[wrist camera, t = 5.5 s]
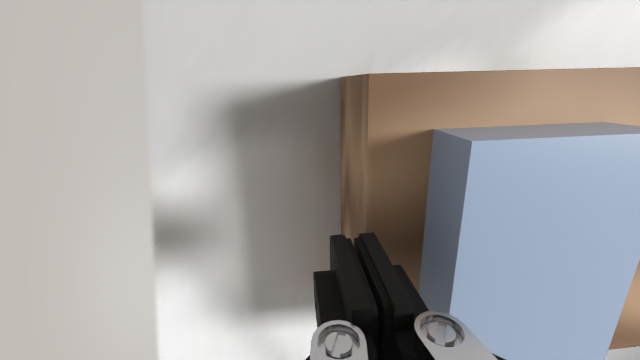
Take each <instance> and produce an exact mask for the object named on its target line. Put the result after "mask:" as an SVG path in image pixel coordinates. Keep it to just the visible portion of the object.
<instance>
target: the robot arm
mask: <svg viewBox="0 0 640 360" xmlns="http://www.w3.org/2000/svg"><path fill="white" fill-rule="evenodd" d="M330 267H331V270H330V271H318V272H314V297H315V309H316V319H317V327H318V328H317V329H316V331H315V332H314V333H313V337H312V341H311V351H310V355H309V357H308V358H307V359H306V360H506V359H503V358H501V357H499V356H497V355H495V354H493V353H491V352H490V351H489V350H488V349H487V348H486V347H485V346H484V345H483V343H482V342H481V341H480V340H479V339H478V338H477V337H476V336H475V335H474V334H473V333H472V332H471V331H470V330H469V328H468V327H467V326H466V325H465V324H464V323H462V322H461V321H460V320H459V319H458V318H456V317H454V316H452V315H450V314H447V313H444V312H440V311H429V309H428V308H427V306H426V305H425V303H424V301H423V300H422V298H421V297H420V295H419V293H418V292H417V290H416V288H415V287H414V285H413V284H412V282H411V280H410V279H409V277H408V275H407V274H406V272H405V271H404V269H403V267H402V266H401V265H392V263H391V261H390V259H389V258H388V256H387V254H386V252H385V251H384V249H383V247H382V245H381V244H380V242H379V240H378V238H377V237H376V235H375V233H359V237H356V238H354V245H353V243H352V240H351V238H346V237H345V235H333V236H330Z"/></svg>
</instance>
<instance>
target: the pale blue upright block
mask: <svg viewBox="0 0 640 360" xmlns="http://www.w3.org/2000/svg"><path fill="white" fill-rule="evenodd" d="M639 260H640V126H634V125H625V124H617V123H609V122H593V123H568V124H544V125H519V126H495V127H470V128H446V129H433V140H432V151H431V162H430V173H429V184H428V195H427V206H426V217H425V228H424V239H423V250H422V261H421V272H420V283H419V295H420V297H421V298H422V300H423V301H424V303H425V305H426V306H427V308H428V309H429V311H440V312H444V313H447V314H450V315H452V316H454V317H456V318H458V319H459V320H460V321H461V322H462V323H464V324H465V325H466V326H467V327H468V328H469V330H470V331H471V332H472V333H473V334H474V335H475V336H476V337H477V338H478V339H479V340H480V341H481V342H482V343H483V345H484V346H485V347H486V348H487V349H488V350H489V351H490V352H491V353H493V354H495V355H497V356H499V357H501V358H503V359H506V360H605V358H606V355H607V352H608V349H609V346H610V343H611V340H612V338H613V335H614V332H615V329H616V326H617V323H618V320H619V317H620V315H621V312H622V309H623V306H624V303H625V300H626V297H627V294H628V292H629V289H630V286H631V283H632V280H633V277H634V274H635V272H636V269H637V266H638V263H639Z"/></svg>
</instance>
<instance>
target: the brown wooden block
mask: <svg viewBox="0 0 640 360" xmlns="http://www.w3.org/2000/svg"><path fill="white" fill-rule="evenodd" d="M593 122H609V123H617V124H625V125H634V126H640V67H630V68H589V69H547V70H505V71H464V72H422V73H381V74H363V75H355V76H347V77H341V235H345V237H346V238H351V240H352V243H353V245H354V238H356V237H359V233H375V235H376V237H377V238H378V240H379V242H380V244H381V245H382V247H383V249H384V251H385V252H386V254H387V256H388V258H389V259H390V261H391V263H392V265H401V266H402V267H403V269H404V271H405V272H406V274H407V275H408V277H409V279H410V280H411V282H412V284H413V285H414V287H415V288H416V290H417V292H418V293H419V283H420V272H421V261H422V250H423V239H424V228H425V217H426V206H427V195H428V184H429V173H430V162H431V151H432V140H433V129H446V128H470V127H495V126H519V125H544V124H568V123H593ZM636 346H640V260H639V263H638V266H637V269H636V272H635V274H634V277H633V280H632V283H631V286H630V289H629V292H628V294H627V297H626V300H625V303H624V306H623V309H622V312H621V315H620V317H619V320H618V323H617V326H616V329H615V332H614V335H613V338H612V340H611V343H610V346H609V349H618V348H627V347H636ZM609 349H608V350H609Z"/></svg>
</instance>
